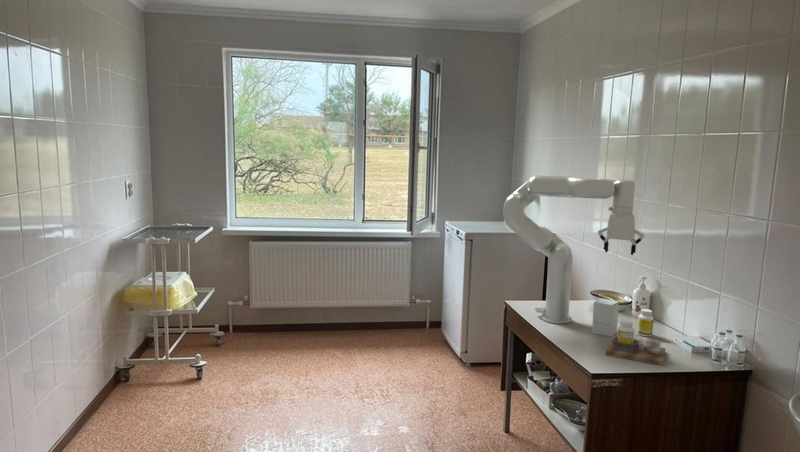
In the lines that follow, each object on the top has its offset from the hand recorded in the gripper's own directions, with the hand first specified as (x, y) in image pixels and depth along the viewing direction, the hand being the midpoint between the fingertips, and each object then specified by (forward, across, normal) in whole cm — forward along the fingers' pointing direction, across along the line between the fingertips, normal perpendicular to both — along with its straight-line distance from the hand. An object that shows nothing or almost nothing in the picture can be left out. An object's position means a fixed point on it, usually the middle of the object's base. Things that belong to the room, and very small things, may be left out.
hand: (619, 253), depth 212 cm
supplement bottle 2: (+31, +12, -5) cm, 33 cm away
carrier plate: (+30, +11, -29) cm, 43 cm away
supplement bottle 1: (+29, +7, -29) cm, 42 cm away
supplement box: (+31, -2, -11) cm, 33 cm away
